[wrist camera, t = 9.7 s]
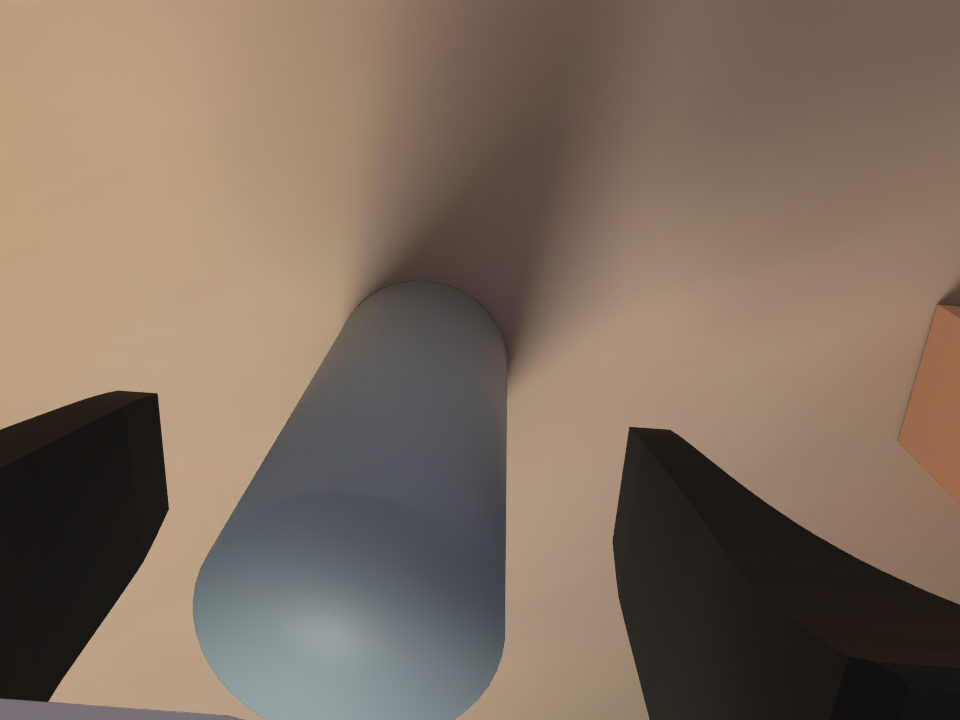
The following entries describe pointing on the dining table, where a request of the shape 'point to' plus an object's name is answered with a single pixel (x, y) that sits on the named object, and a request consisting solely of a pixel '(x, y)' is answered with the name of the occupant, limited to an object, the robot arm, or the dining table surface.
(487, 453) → the dowel
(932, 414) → the block
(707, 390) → the dining table surface
